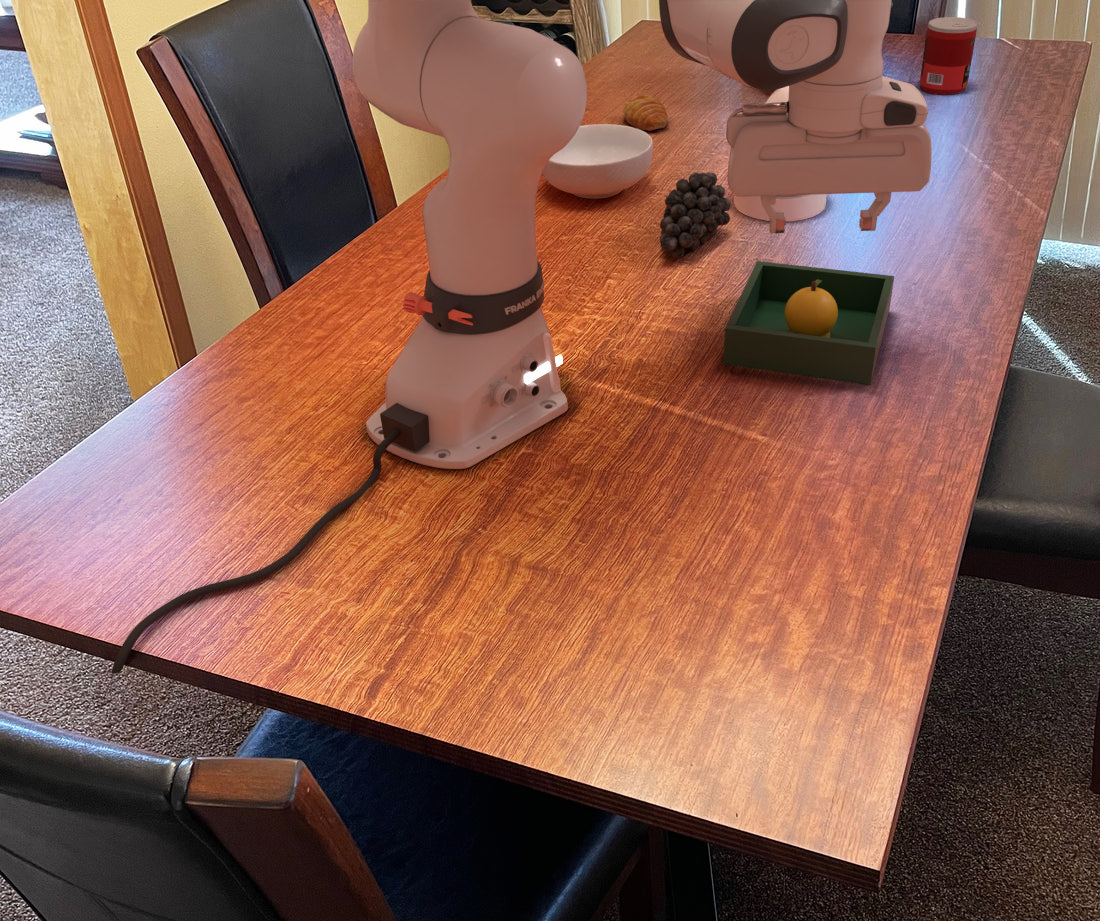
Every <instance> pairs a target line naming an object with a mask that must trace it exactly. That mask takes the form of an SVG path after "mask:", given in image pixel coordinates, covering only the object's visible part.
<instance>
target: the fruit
mask: <svg viewBox="0 0 1100 921" xmlns="http://www.w3.org/2000/svg"><path fill="white" fill-rule="evenodd" d="M717 183H718V176H717V174H716V173H715V172H706V173H705V172H693V173H690V174H689V176H688V179H685V178H680V179H679V180H677V181H676V183H675V187H676V188H675V189H673V190H671V191H670V192H669V193H668V195H667V196H666V197H665V199H664V204H665V206H666V207H665V208H664V212H663V216H662V217H663V218H662V219H661V220H660V223H659V227H660V229H661V232H660V236H659V244H660V248H661V250H662V251H663V252H665V253H669V254H670V256H671V257H672V258H676V259H679V258H682V257H683V256H684V254H685V249H686V248H689V250H692V251H696V250H697V249H699V248H700V242H702V243H704V242H705V243H706V242H707V241H708V240H709V238H714V237H715V236H716V235H717V232H718V227H720V226H727V225H728V224H729V223H730V221H731V216H730V214H729V213H728V211H729V210H730V208H731V206H732V202H731V200H730V199H729V198H727V197H725V195H726V189H725V187H724V186H723V185H721V184H717Z"/></svg>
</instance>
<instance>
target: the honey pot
mask: <svg viewBox="0 0 1100 921" xmlns="http://www.w3.org/2000/svg"><path fill="white" fill-rule="evenodd" d="M788 97H789V86H787V87H784V88H781V89H777V90H773V92H772V93H771V95H770V96H769V97H768V99H767V100H766V101H765V103H764V104H766V103H776V102H787V101H788ZM827 198H828V194H814V195H781V196H776V203H775V204H774V205H773V207H774V209H775V211H776V212H784V216H785V223H787V222H797V221H804V220H807V219H810V218H814V217H816V216H818V215H820V214H821V213H822V212H823V211H824V210H825V209H826V205H827ZM733 205H734V207H735V209H736V210H737V211H738V212H739V213H741V214H743V215H745V216H747V217H750V218H753V219H755V220H760V221H766V222H769V221H770V218H769V216H768V214H767V213H766V211H765V209H764V207H763V206H762V202H761V197H760V196H748V197H737V196H735V195H734V194H733Z"/></svg>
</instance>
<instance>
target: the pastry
mask: <svg viewBox="0 0 1100 921" xmlns="http://www.w3.org/2000/svg"><path fill="white" fill-rule="evenodd" d="M622 111H623V117H624V120H625V121H626V123H628V124H629V125H631V126H632V127H633V128H636V129H639V130H642V131H644V130H645V131H648V132H650V131H654V130H656V129H664V128H665V127H666V125H667V124H668V123H669V122H668V113H667V110H666V107H665V105H663V103H662V102H661V101H660V99H658V98H656V97H652V96H651V95H647V94H637V95H635V96H634V97H633V98H629V100H628V101H627V102H626V103H625V105H624V107H623V110H622Z"/></svg>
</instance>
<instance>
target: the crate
mask: <svg viewBox="0 0 1100 921" xmlns="http://www.w3.org/2000/svg"><path fill="white" fill-rule="evenodd" d="M752 269H753V270H752V271H751V273H750V275H749V277H748V279H747V281H746V283H745V286H744V288H743V290H742V291H741V294H740V296H739V298H738V300H737V302H736V304H735V306H734V308H733V311H732V312H731V315H730V317H729V319H728V321H727V323H726V325H725V327H724V341H723V342H724V343H723V362H722V363H723V366H731V367H737V368H738V367H739V368H745V369H752V370H760V371H765V372H766V371H767V372H775V373H781V374H788V375H795V376H801V377H810V378H816V379H824V380H832V381H836V382H837V381H839V382H845V383H852V384H859V385H867V386H871V385H872V381H873V378H874V375H875V374H874V373H875V370H876V365H877V363H878V362H877V361H878V357H879V353H880V350H881V346H882V341H883V337H884V333H885V330H886V326H887V322H888V317H889V313H890V308H891V302H892V295H893V288H894V280H895V276H894V275H890V274H889V275H888V274H879V273H872V272H870V273H869V272H862V271H851V270H842V269H834V268H824V267H816V266H806V265H798V264H788V263H779V262H769V261H761V260H760V261H759V260H756V263H755V264H754V267H753V268H752ZM816 280H822V282H821V283H820V284H819V285H818V286H817V288H821V289H823V290H825V291H827V292H828V293H829V294H830V295H831V296H832V297H833V298H834V300H835V302H836V304H837V308H838V316H837V321H836V323H835V325H834V327H833V328H832V329H831V331H830V338H828V337H820V336H812V335H804V334H796V333H789V332H788V331H789V327H788V326H787V324H786V320H785V307H786V304H787V302H788V300H789V299H790V297H791V296H792V295H793V294H794V293H796V292H797V291H799V290H800V289H803V288H807V287H811V285H812V282H813V281H816Z"/></svg>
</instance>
